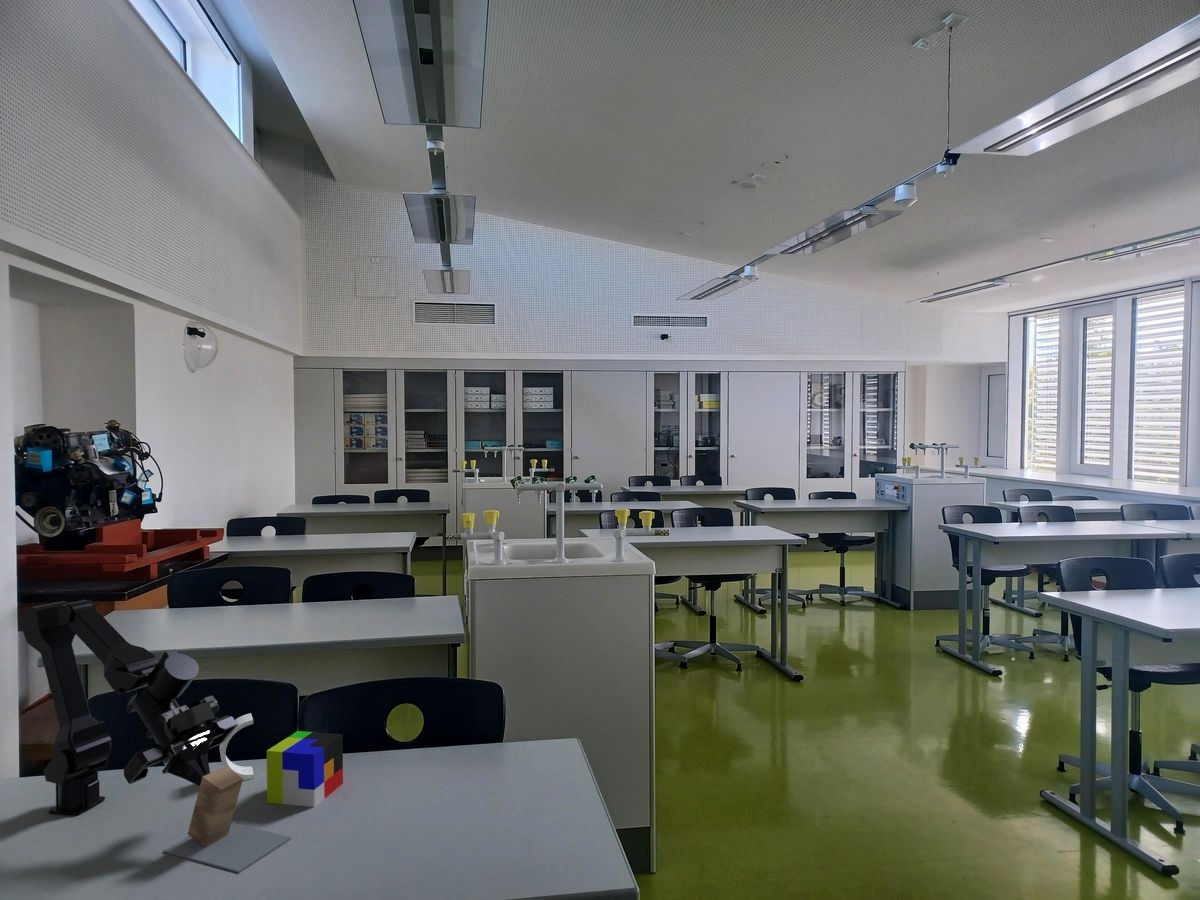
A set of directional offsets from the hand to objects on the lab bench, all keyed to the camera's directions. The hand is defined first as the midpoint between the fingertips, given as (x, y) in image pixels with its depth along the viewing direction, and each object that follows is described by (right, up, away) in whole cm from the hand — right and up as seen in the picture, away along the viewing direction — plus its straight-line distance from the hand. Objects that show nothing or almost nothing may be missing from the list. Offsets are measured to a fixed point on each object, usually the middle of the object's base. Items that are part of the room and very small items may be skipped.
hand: (208, 786), depth 128 cm
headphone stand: (-7, -10, +25) cm, 28 cm away
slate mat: (+4, -9, -1) cm, 10 cm away
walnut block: (0, -8, 0) cm, 8 cm away
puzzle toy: (+10, -10, +18) cm, 22 cm away
